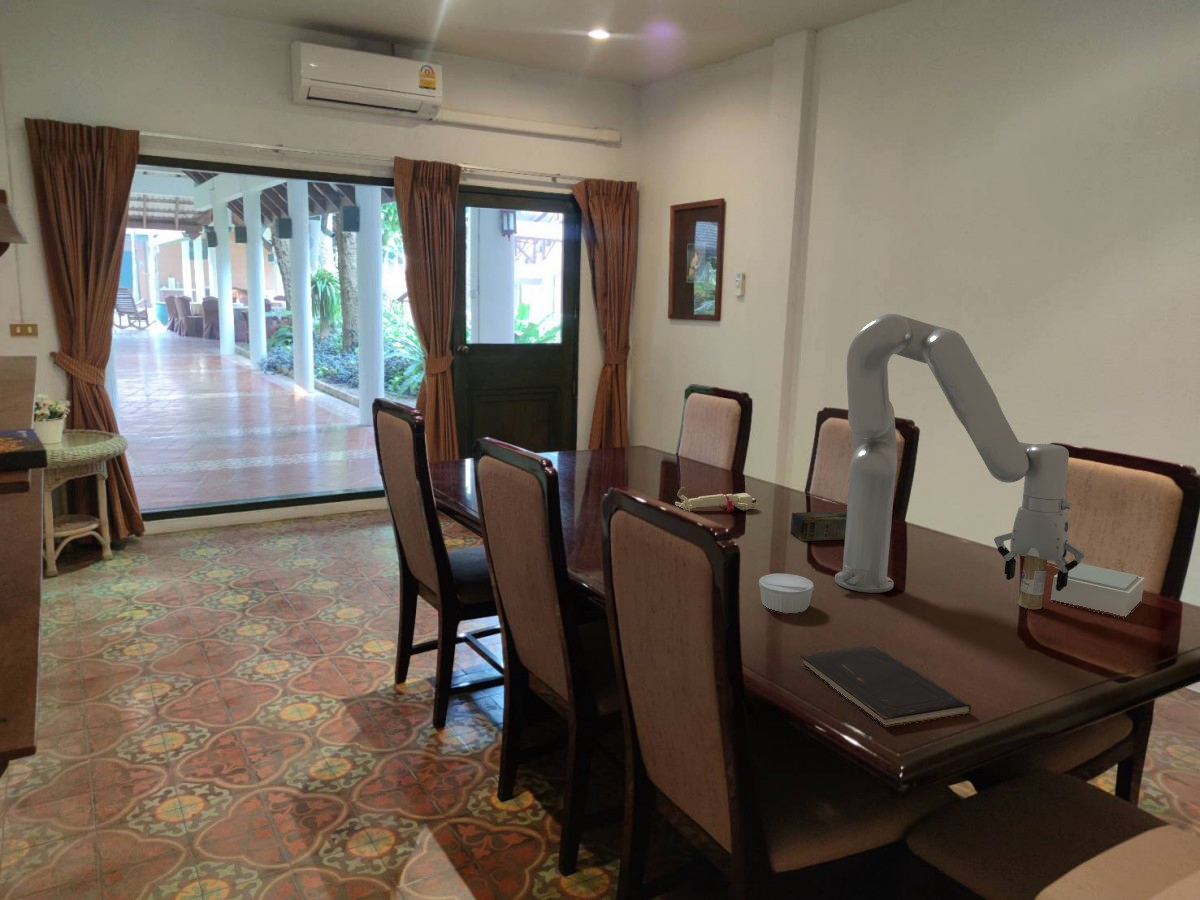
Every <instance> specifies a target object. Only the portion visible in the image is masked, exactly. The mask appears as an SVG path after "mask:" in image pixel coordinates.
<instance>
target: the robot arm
mask: <svg viewBox="0 0 1200 900" xmlns="http://www.w3.org/2000/svg"><path fill="white" fill-rule="evenodd" d="M893 355H897V356H899V357H903V358H906V359H910V360H913V361H916V362H920V363H923V364H927V366H928V367H929V369H930V371H931V373H932V375H933V376H934V378H935V380H936V381H937V383H938V385H939V386H940V389H941V391H942V392H943V395H944V396H945V397H946V400H947V402H948V403H949V405H950V407H951V409H952V410H953V412H954V414H955V416H956V418H957V419H958V421H959V422H960V424H961V425H962V426H963V427H964V429H965V431H966V432H967V434H968V435H969V438H970V439H971V441H972V443H973V445H974V447H975V448H976V450H977V452H978V453H979V455H980V457H981V459H982V461H983V462H984V465H986V466H985V467H986V469H987V470H988V472H989V473H990V475H991V476H992V477H993V478H994V479H996V480H997V481H1000V482H1001V483H1006V484H1007V483H1008V484H1011V483H1016V482H1018V481H1020V480H1022V479H1023V478H1024V483H1023V494H1022V504H1021V506H1019V507H1018V508H1017V509H1018V510H1017V512H1016V514H1015V518H1014V522H1013V526H1012V532H1008V533H1004V534H1001V535H998V536H995V537H994V538H993V540H994V543H995V546H996V547H997V551H998V553H999V554H1000V555H1001V557H1003V561H1005V563H1004V564H1005V565H1004V574H1005V575H1006V577H1005V579H1006V580H1007V581H1010V580H1011V579H1013V578H1014V577H1015V575H1016V566H1017V565H1016V563H1017V560H1016V558H1015V557H1016V556H1021V557H1025V556H1030V555H1028V552H1029V550H1030V549H1031V548H1034V549H1037V551H1038V554H1039V557H1037V558H1040V559H1042V560H1046V561H1047V562H1053V563H1055V565H1056V566H1057V567H1058V569H1059V571H1058V572H1057V573H1056V574H1057V583H1056V590H1057V591H1061V590H1062V589H1063V588H1064V587H1066V586H1067V580H1068V571H1069V570H1071V569H1073V568H1074V567H1076V566H1077V565H1079V563H1081V562H1082V561H1083V560H1084V559H1085V557H1086V555H1087V554H1086V552H1084V551H1083V550H1081V549H1080V548H1078V547H1076V545H1073V544H1072V543H1071V542H1070V541H1069V540H1070V539H1069V537H1070V536H1069V535H1070V530H1069V529H1070V527H1069V516H1068V512H1066V511H1065V510H1071V509H1072V507H1073V505H1072V503H1071V502H1068V501H1067V500H1066V488H1067V487H1066V485H1067V478H1068V469H1069V459H1070V457H1069V456H1070V454H1069V453H1070V452H1069V450H1068V448H1066V447H1065V446H1062V445H1058V444H1053V443H1052V444H1051V443H1035V444H1034V443H1033V444H1032V443H1027V442H1020V441H1019V439H1018V438H1017V436H1016V434H1015V432H1014V431H1013V429H1012V427H1011V425H1010V424H1009V422H1008V420H1007V418H1006V416H1005V414H1004V413H1003V409H1002V408H1001V405H1000V403H999V401H998V397H997V396H996V394H995V392H994V389H993V388H992V386H991V384H990V383H989V381H988V379H987V378H986V376H985V374H984V373H983V370H982V368H981V367H980V365H979V363H978V361H977V360H976V357H974V355H973V353H972V350H971V349H970V348H969V346H968V344H967V343H966V340H965V339H964V337H963V336H962V335H961V334H960V333H958V331H955V330H953V329H950V328H945V327H941V326H938V325H934V324H930V323H927V322H924V321H920V320H917V319H913V318H910V317H907V316H904V315H901V314H896V313H887V314H883V315H881V316H879V317H877V318H876V319H874V320H872V321H870V322H869V323H868V324H866V325H865V326H864V327H863V328H861V329H860V330H859V332H857V333H856V335H855V336H854V338H853V339H852V341H851V343H850V346H849V348H848V351H847V357H846V382H847V383H846V384H847V385H846V387H847V389H846V390H847V405H848V407H847V410H848V412H847V420H848V421H847V422H848V425H849V427H850V429H851V433H852V434H851V436H852V448H853V455H852V458H851V460H850V464H849V470H848V487H847V488H848V491H847V507H846V512H847V519H846V532H845V539H844V546H843V559H842V560H843V561H842V571H838V572H837V573H835V576H834V582H835V583H836V584H837V585H838V586H840V587H842V588H845V589H847V590H850V591H855V592H856V591H857V592H862V593H868V594H869V593H871V594H872V593H873V594H875V593H876V594H877V593H885V592H889V591H891V590H892V589H893V588H894V584H895V583H894V581H893V580H892V578H890V577H889V576H888V566H889V557H890V556H889V554H890V542H891V533H892V532H891V531H892V530H891V529H892V517H893V506H894V505H893V504H894V496H895V485H896V475H897V467H898V450H897V449H898V447H897V435H896V434H897V433H896V419H895V409H894V406H893V404H892V402H891V401H890V394H889V373H888V372H889V370H888V365H889V361H890V359H891V357H892V356H893ZM1005 541H1010V544H1009V548H1010V550H1009V548H1007V547H1006V545H1005ZM1068 552H1069V553H1071V554H1072V555H1073V556H1074V558H1073V560H1071V561H1070V562H1068V561H1067V559H1066V558H1067V556H1068Z"/></svg>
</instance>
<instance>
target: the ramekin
mask: <svg viewBox="0 0 1200 900" xmlns="http://www.w3.org/2000/svg"><path fill="white" fill-rule="evenodd" d="M814 585H815V584H814V583H813V581H811V579H808V578H807V577H804V576H800V575H797V574H791V573H781V572H780V573H777V572H776V573H769V574H766V575H763V576H761V577H760V578H759V579H758V586H759V590H760V592H759V593H760V599H761V600H760V601H761V603H762V605H763V607H765V606H766V607H767V608H766V607H765V608H766V609H768V608H769V609H772V610H775V611H779V612H783V613H782V614H788V613H793V614H799V613H798V612H801V613H803V612H805V611H806V610H807V609H808V608H809V607H810V603H811V598H812V594H813V591H814V589H815V586H814ZM769 609H768V610H769ZM772 610H771V611H772ZM775 611H774V612H775ZM779 612H778V613H779Z"/></svg>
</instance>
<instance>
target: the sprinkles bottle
mask: <svg viewBox="0 0 1200 900" xmlns="http://www.w3.org/2000/svg"><path fill="white" fill-rule="evenodd" d="M1028 555H1030V556H1024V559H1023V567H1022V568H1023V569H1022V574H1021V580H1020V588H1019V589H1020V590H1019V592H1020V593H1019V599H1018V602H1017V603H1018V605H1019V606H1020V607H1022V608H1024V609H1027V608H1028V610H1040V609H1042V608H1043V605H1042V604H1043V597H1044V592H1045V591H1044V590H1045V584H1046V577H1047V564H1048V561H1046V560H1042V559H1040V558H1037V557H1039V554H1038V551H1037V549H1034V548H1031V549H1030V550H1029V552H1028Z"/></svg>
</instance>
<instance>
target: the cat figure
mask: <svg viewBox="0 0 1200 900" xmlns="http://www.w3.org/2000/svg"><path fill="white" fill-rule="evenodd" d="M686 492H687V489H686V487H684V486H681V487H680V488H679V490H677V493H676V495H677V497H678V498H680V499H681V500H683V501H682V502H679V501H675V502H674V505H676V506H679V507H681V508H683V509H686V510H689V512H691V511H690V509H692V508H696V507H704V508H709V507H710V508H711V507H716V506H717V507H719V505H720V506H721V507H726V508H727V510H726V512H727V511H728V513H729V512H731V510H734V508H735V507H736V508H737V509H739V510H740V511H741V510H742V511H743V512H744V511H748V510H751V509H755V507H756V506H757V505H758V503H756V502H757V499H756V498H753V496H751V495H750V494H748V493H747V492H741V493H734V494H732V493H728V494H726V493H725V494H723V493H722V490H720V491H718V493H717V494H711V495H702V496H698V497H694V498H693V497H692V498H687V497H686V496H685V495H684V493H686ZM687 508H688V509H687Z"/></svg>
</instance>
